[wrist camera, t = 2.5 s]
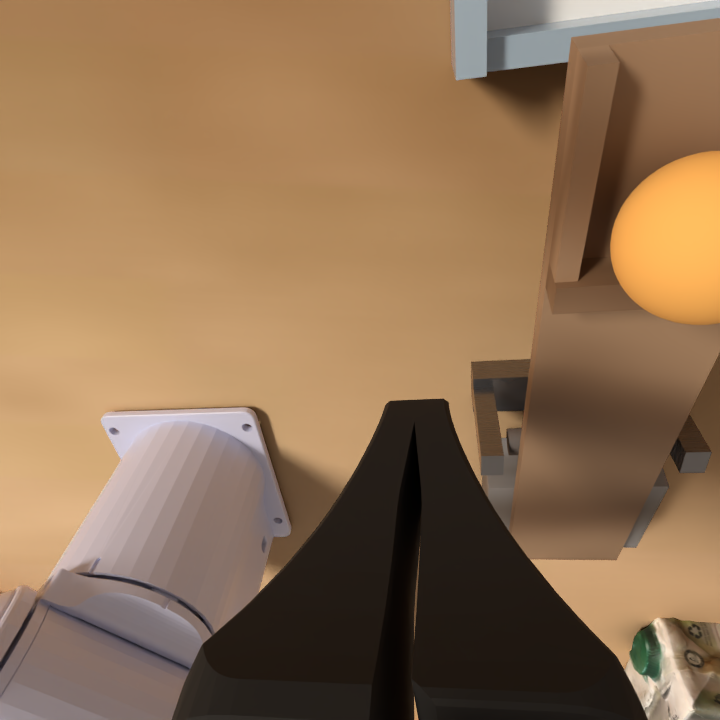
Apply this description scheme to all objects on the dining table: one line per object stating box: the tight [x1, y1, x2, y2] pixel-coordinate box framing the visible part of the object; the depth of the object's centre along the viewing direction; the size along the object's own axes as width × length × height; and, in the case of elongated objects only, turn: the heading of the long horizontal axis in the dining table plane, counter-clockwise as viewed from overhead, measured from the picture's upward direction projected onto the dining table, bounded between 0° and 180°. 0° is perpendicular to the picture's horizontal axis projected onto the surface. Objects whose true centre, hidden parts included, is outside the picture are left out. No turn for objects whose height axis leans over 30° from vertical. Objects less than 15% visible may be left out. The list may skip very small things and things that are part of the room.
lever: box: [482, 18, 720, 560], centre depth 18 cm, size 22×7×4 cm, turn 7°
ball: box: [610, 151, 720, 325], centre depth 10 cm, size 3×3×3 cm
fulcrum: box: [471, 359, 712, 475], centre depth 21 cm, size 2×8×5 cm, turn 97°
